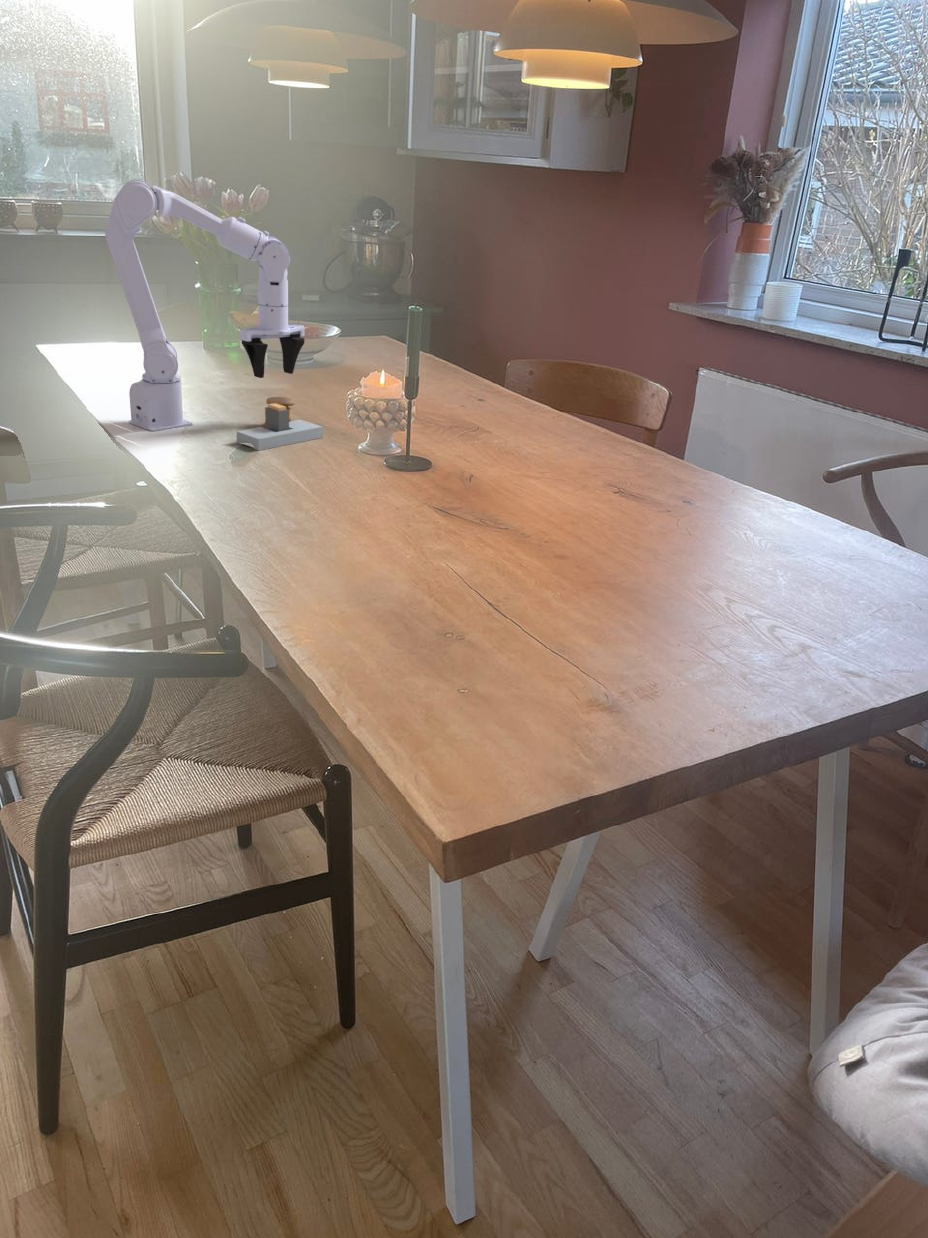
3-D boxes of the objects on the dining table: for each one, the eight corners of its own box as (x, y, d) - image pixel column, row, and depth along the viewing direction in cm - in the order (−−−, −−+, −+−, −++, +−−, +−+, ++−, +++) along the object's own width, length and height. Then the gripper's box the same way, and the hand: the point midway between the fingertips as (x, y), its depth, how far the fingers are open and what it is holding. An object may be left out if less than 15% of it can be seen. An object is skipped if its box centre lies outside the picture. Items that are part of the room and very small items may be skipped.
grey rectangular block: (279, 442, 183) (278, 408, 180) (265, 437, 185) (265, 404, 182) (289, 440, 184) (289, 406, 181) (275, 435, 186) (275, 402, 184)
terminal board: (258, 450, 176) (258, 439, 175) (236, 442, 180) (236, 431, 179) (322, 437, 188) (322, 426, 187) (300, 430, 191) (300, 419, 190)
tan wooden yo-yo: (278, 431, 189) (278, 405, 187) (258, 424, 193) (257, 398, 191) (303, 426, 194) (303, 401, 192) (282, 419, 197) (282, 395, 195)
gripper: (256, 309, 177) (258, 382, 183) (315, 305, 187) (314, 374, 193) (233, 304, 181) (235, 375, 187) (291, 300, 191) (291, 368, 197)
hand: (273, 374), depth 190 cm, fingers open, 7 cm apart
